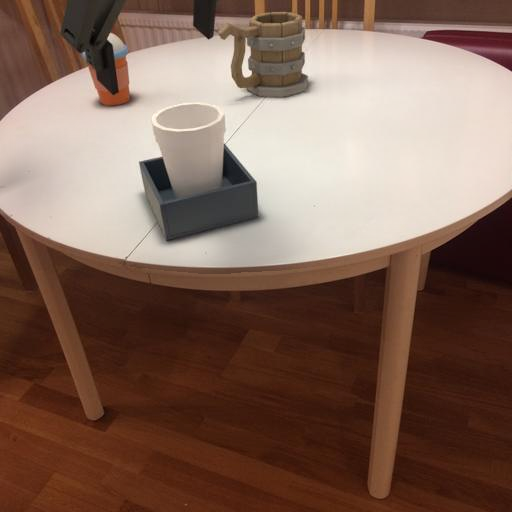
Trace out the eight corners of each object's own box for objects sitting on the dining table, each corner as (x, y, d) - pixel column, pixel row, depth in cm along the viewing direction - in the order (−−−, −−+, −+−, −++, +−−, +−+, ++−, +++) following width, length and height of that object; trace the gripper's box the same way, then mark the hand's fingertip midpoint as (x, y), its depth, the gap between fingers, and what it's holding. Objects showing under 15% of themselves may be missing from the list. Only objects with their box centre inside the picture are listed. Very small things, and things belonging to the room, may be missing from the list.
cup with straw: (96, 94, 115) (76, 6, 104) (138, 91, 116) (122, 2, 105) (91, 110, 108) (68, 16, 97) (135, 106, 108) (117, 13, 98)
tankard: (283, 72, 121) (282, 2, 112) (318, 87, 112) (320, 12, 103) (208, 93, 113) (200, 18, 103) (239, 111, 104) (233, 31, 95)
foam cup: (196, 180, 81) (185, 98, 73) (244, 196, 77) (238, 110, 69) (153, 208, 75) (136, 122, 67) (202, 227, 71) (190, 137, 63)
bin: (166, 240, 69) (159, 204, 66) (145, 194, 79) (138, 161, 76) (258, 217, 73) (256, 181, 70) (227, 175, 83) (224, 143, 79)
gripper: (36, -70, 34) (85, 135, 53) (297, -176, 43) (259, 29, 62) (-31, -132, 35) (40, 89, 54) (235, -222, 45) (217, -7, 64)
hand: (157, 57), depth 58 cm, fingers open, 13 cm apart
